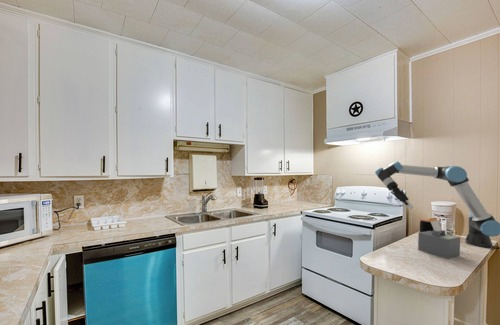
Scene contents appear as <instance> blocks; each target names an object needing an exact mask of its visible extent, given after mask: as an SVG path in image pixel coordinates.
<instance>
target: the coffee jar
mask: <svg viewBox="0 0 500 325" xmlns="http://www.w3.org/2000/svg"><path fill="white" fill-rule="evenodd" d="M429 219H430V218H427V217H426V218H425V217H424V218H423V217H422V218H420V219H419V232H425V231H432V230H434V229H433V226H432V224H431V222H430V221H429Z"/></svg>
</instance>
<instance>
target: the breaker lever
mask: <svg viewBox="0 0 500 325" xmlns="http://www.w3.org/2000/svg"><path fill="white" fill-rule="evenodd" d="M428 219H429V221H430V222H431V224H432V226H433V229H434V231H438V232H440V234H442V233H443V231H442V230H443V229H441V227H440V224H439V221H438V218H437V217H431V218H428Z"/></svg>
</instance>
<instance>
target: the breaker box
mask: <svg viewBox="0 0 500 325" xmlns="http://www.w3.org/2000/svg"><path fill="white" fill-rule="evenodd" d="M441 230H442V231H443V233H442V234H440V232H438V231H434V230H432V231H425V232H420V231H419V232H418V236H417V237H418V238H417V239H418V241H417V247H418V248H417V250H418V251H419V252H420V251H421V252H425V253H428V254H430V255H433V256H438V257H440V258H443V259H447V260H450V259H455V258H458V257H460V256H461V251H460V250H461V237H459V236H454V235H449V234H447V233H446V230H444V229H441Z"/></svg>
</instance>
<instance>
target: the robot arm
mask: <svg viewBox="0 0 500 325" xmlns="http://www.w3.org/2000/svg"><path fill="white" fill-rule="evenodd" d="M394 174H403V175H410V176H411V175H414V176H421V177H422V176H423V177H430V178H432V177H433V178H434V179H439V180H443V181H447V183H448V184H449V185H450V187H453V188H454V189H455V191H456V193H457V194H458V195H459V197H460V199H461V201H462V202H463V203H464V204H465V206H466V208H467V210H468V211H469V215H468V233H467V235H466V237H465V239H464V240H465V242H464V243H466V244H468V245H471V246H475V247H480V248H493V241H492V240H491V237H498V236H500V222H499V221H497V219H496V218H495V217H494V216H493V214H492V213H489V212H487V210H486V209H485V207H484V205H483V203H482V202H481V200H480V199H479V197H478V195H477V194H476V193H475V191H474V190H473V189H472V187H471V185H470V183H469V182H470V179H469V178H468V174H467V171H466V169H464V168H463V167H462V166H458V165H452V166H450V165H449V166H435V167H430V166H418V165H408V164H407V165H406V164H402V163H400V162H399V161H398V160H397V161H394V162H392V163H389V164H387V166H386V167H385V168H383V167H379V168H377V169H376V170H375V175H376V176H377V177H378V179H379V180H380V181H381V182H382V183H383V185H384V186H385V187H386V188H387V189H388V191H390V194H392V195H393V196H394V197H395V198H396V199H397V200H398V201H399V202H401V203H403V204H404V205H405V206H406V208H408V209H409V210H412V209H413V208H414V206H413V205H412V204H411V203H410V201H409V198H408V196H407V195H406V193H405V192H404V189H400V187H398V186H399V184H398V183H397V182H396V181H395V180H394V179H393V177H392V176H393V175H394Z"/></svg>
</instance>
